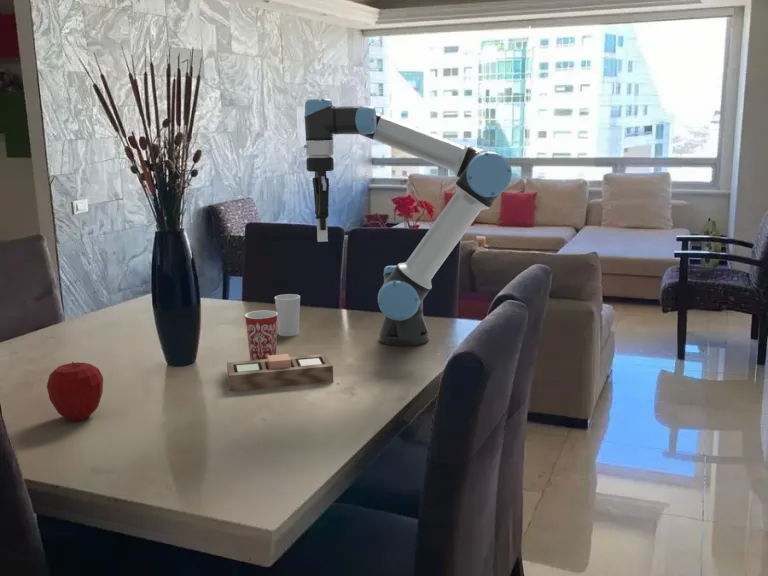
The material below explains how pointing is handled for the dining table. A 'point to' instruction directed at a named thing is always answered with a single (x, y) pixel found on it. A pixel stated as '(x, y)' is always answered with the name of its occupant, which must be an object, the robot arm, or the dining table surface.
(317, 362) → the key ivory
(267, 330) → the mug
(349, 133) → the robot arm
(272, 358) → the key terracotta
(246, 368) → the key sage
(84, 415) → the apple
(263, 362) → the wooden compartment tray
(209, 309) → the dining table surface
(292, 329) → the cup
